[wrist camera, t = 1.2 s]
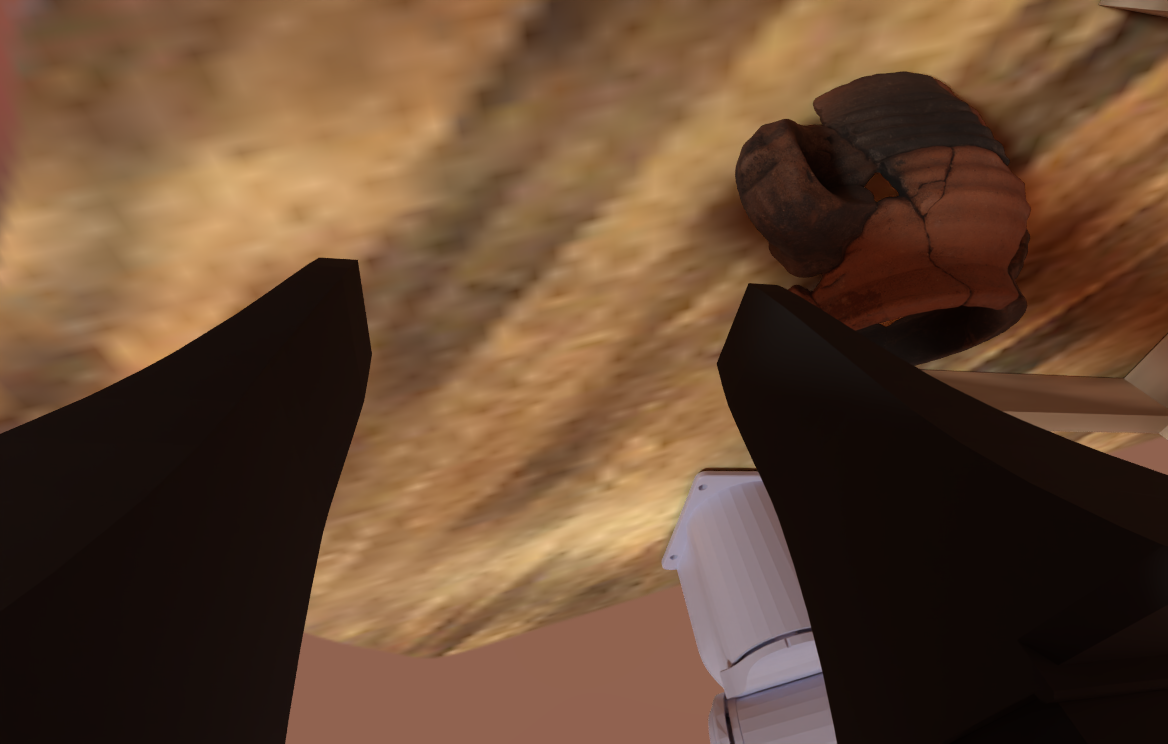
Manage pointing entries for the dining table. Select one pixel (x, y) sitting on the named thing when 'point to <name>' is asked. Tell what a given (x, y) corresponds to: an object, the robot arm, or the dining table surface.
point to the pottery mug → (894, 214)
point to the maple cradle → (1081, 404)
